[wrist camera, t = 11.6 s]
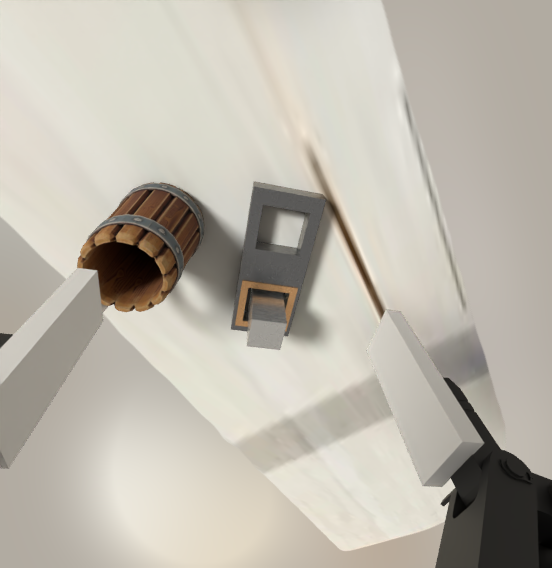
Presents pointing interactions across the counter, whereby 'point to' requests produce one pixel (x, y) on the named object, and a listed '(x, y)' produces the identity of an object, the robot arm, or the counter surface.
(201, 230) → the mug
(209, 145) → the counter surface
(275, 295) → the steel peg
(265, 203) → the rail plate
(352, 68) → the counter surface
